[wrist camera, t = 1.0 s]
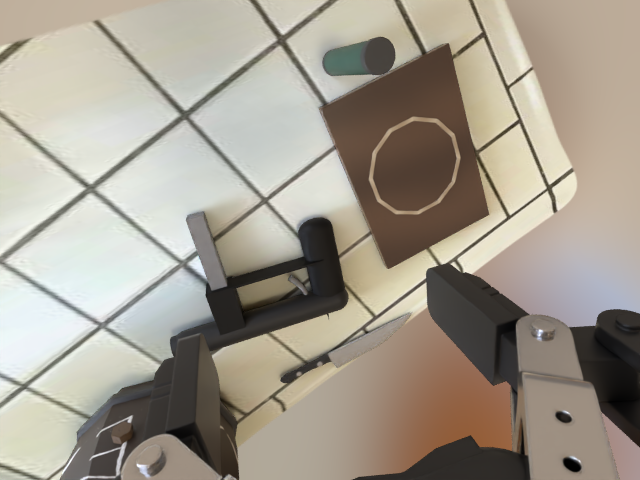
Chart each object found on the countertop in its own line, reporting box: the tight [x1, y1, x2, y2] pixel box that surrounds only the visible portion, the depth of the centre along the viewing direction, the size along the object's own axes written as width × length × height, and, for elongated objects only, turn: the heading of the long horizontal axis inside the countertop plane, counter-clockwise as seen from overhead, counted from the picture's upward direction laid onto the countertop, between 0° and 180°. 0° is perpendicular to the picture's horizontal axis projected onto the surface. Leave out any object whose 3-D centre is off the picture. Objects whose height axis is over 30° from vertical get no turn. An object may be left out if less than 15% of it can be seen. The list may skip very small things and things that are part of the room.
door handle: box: [170, 212, 348, 357], centre depth 40 cm, size 3×20×16 cm
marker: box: [323, 37, 395, 76], centre depth 30 cm, size 2×2×11 cm
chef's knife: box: [280, 313, 412, 383], centre depth 48 cm, size 19×1×3 cm
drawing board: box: [319, 43, 489, 269], centre depth 41 cm, size 20×14×1 cm
